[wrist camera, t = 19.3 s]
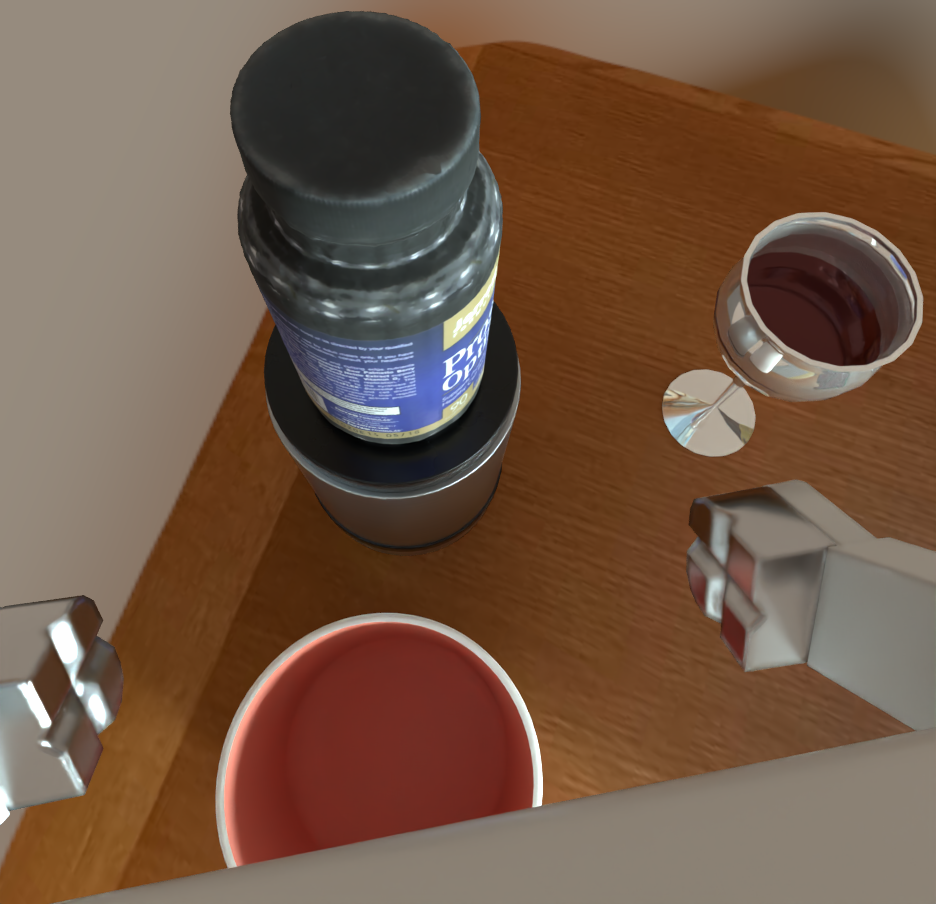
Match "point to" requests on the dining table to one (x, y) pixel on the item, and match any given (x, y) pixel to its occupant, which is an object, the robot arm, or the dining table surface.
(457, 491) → the canister
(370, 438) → the pill bottle
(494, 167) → the dining table surface
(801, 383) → the wineglass
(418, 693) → the cup
